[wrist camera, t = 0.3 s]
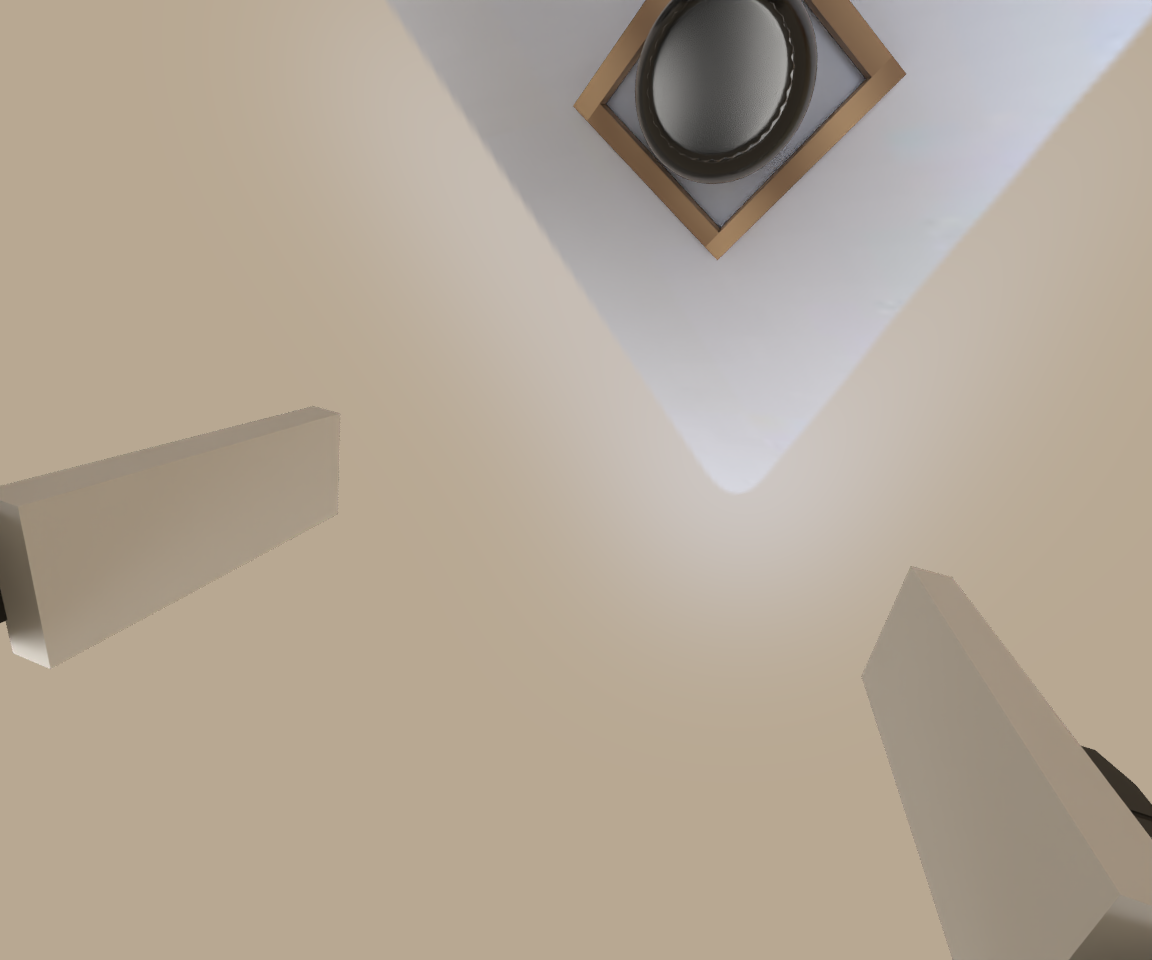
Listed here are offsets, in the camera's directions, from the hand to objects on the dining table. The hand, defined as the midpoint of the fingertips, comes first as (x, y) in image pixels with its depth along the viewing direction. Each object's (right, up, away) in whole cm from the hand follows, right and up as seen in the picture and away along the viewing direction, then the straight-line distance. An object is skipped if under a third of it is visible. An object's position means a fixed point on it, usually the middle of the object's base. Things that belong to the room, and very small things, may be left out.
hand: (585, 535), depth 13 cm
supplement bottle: (+8, +21, +16) cm, 27 cm away
